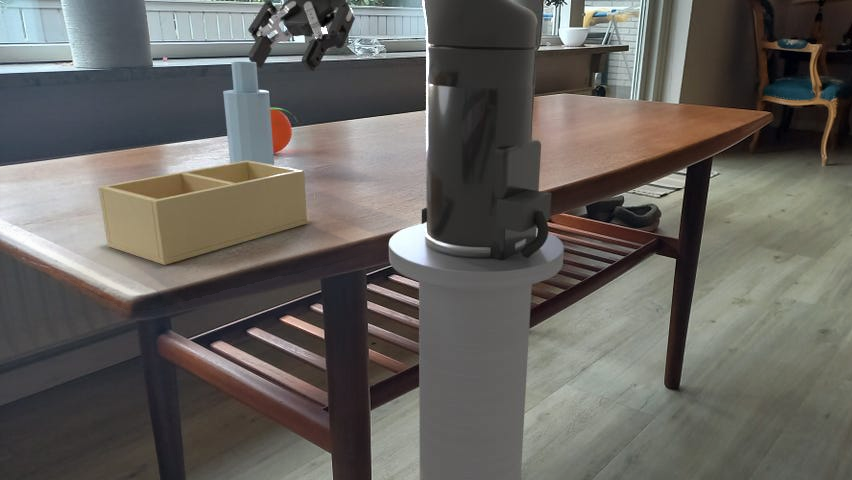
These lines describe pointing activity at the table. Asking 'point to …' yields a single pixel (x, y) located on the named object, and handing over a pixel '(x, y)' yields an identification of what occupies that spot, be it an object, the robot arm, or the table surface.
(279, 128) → the clementine
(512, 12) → the robot arm
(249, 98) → the bottle
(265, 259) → the table surface
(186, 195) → the holder
